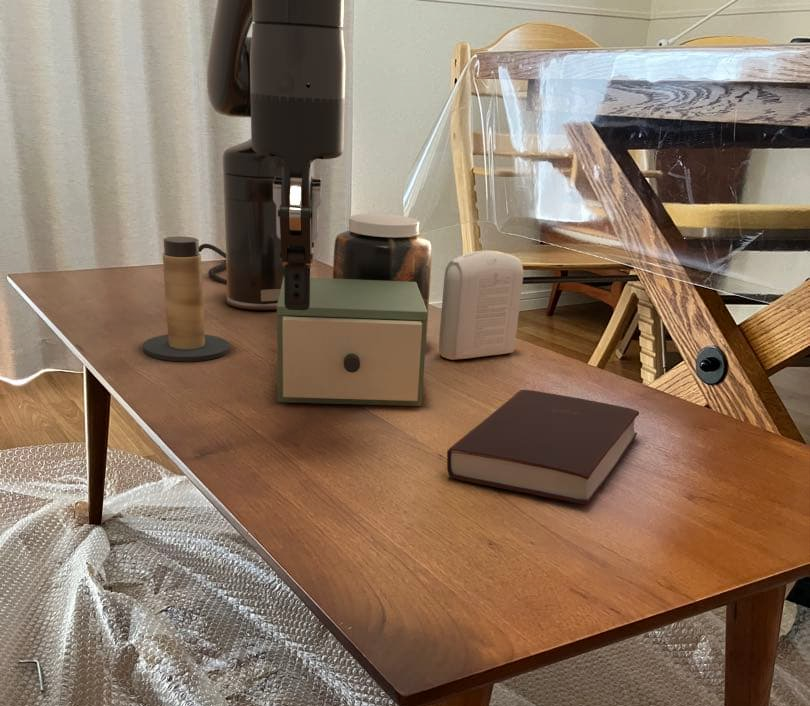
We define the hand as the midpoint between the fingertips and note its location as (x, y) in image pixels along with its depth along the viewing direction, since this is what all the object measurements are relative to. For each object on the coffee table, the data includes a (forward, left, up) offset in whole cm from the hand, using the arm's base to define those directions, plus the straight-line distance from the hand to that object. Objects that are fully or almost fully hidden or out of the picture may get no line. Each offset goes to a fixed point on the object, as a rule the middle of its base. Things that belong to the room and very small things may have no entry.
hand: (297, 307), depth 81 cm
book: (+5, +23, -12) cm, 26 cm away
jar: (-31, +9, -12) cm, 34 cm away
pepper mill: (-26, -14, -11) cm, 31 cm away
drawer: (-12, +5, -11) cm, 17 cm away
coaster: (-26, -14, -12) cm, 32 cm away
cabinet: (-15, +5, -12) cm, 20 cm away
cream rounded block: (-28, +21, -12) cm, 37 cm away
